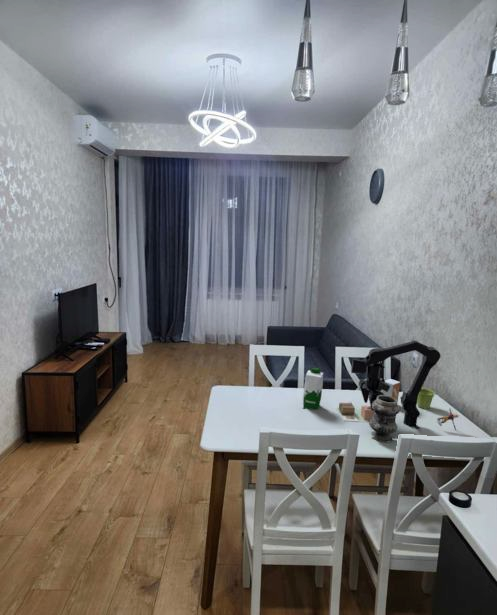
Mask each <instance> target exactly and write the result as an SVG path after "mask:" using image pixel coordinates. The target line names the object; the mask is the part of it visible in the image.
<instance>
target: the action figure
mask: <svg viewBox="0 0 497 615" xmlns="http://www.w3.org/2000/svg"><path fill="white" fill-rule="evenodd" d="M457 418H459V414H457V413H452V409H451V408H449V415H447V416H441V417H437V418H436V421H437V424H438V425H439V426H440V427H442V426H443V424H445V423H447V422H448V421H450V420H451V422H452V424H453V428H454V430H455V431H457V428H456V425H455V422H454V420H455V419H457Z"/></svg>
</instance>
